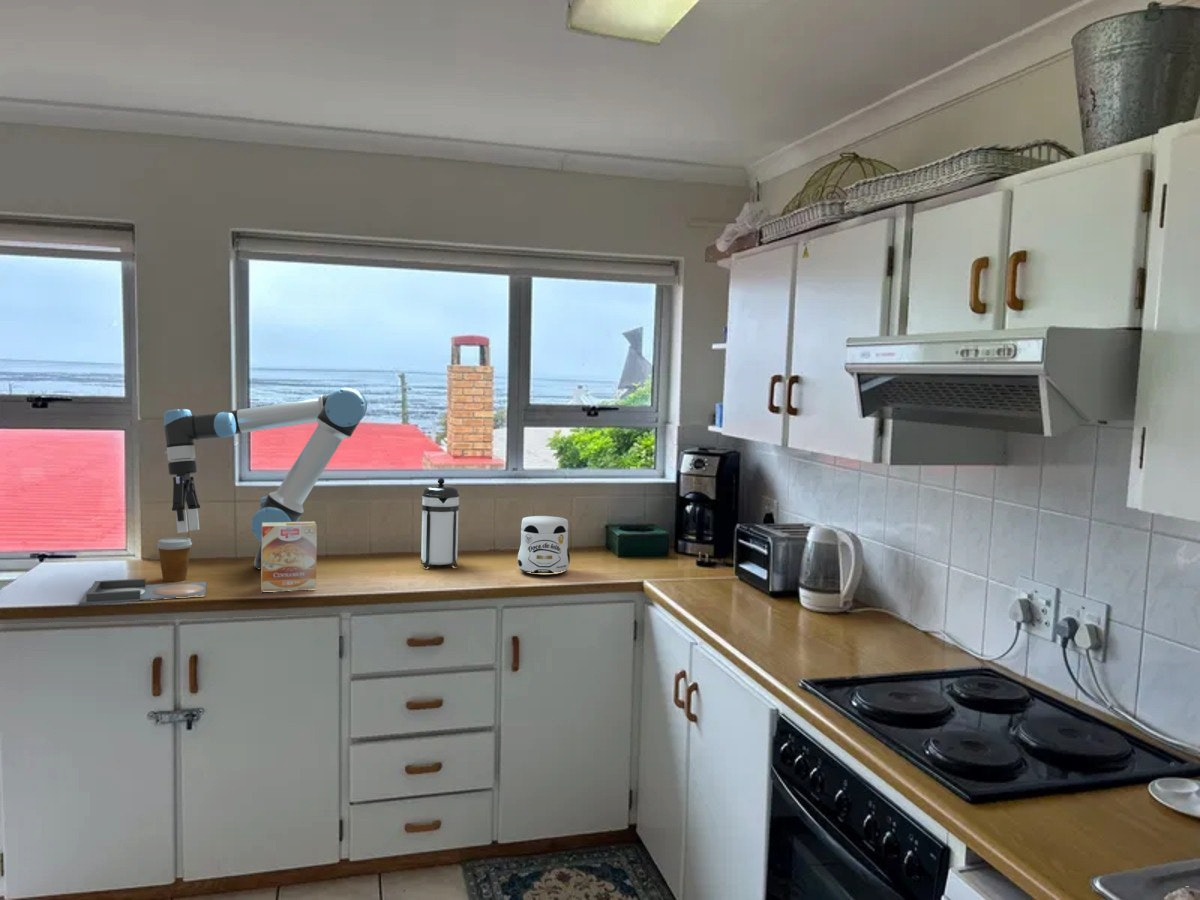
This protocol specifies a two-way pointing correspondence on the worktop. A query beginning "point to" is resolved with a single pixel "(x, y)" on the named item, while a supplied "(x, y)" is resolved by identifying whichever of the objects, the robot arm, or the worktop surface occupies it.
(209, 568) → the worktop surface
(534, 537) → the doce de leite jar
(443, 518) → the coffee press
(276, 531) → the coffeecake box
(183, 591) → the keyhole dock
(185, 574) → the disposable coffee cup
